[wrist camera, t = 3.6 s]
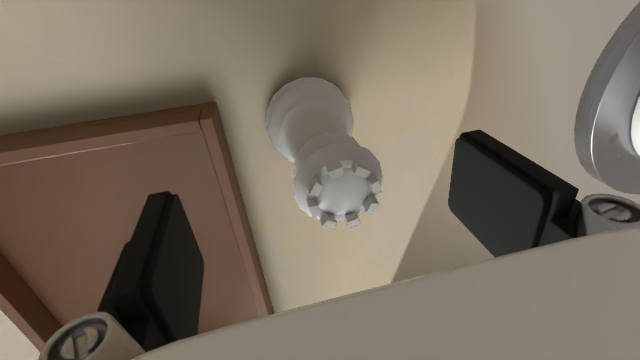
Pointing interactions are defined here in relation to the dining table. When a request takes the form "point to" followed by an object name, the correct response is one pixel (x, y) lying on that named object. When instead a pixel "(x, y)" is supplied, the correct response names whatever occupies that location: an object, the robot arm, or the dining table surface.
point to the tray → (119, 215)
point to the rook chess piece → (323, 152)
